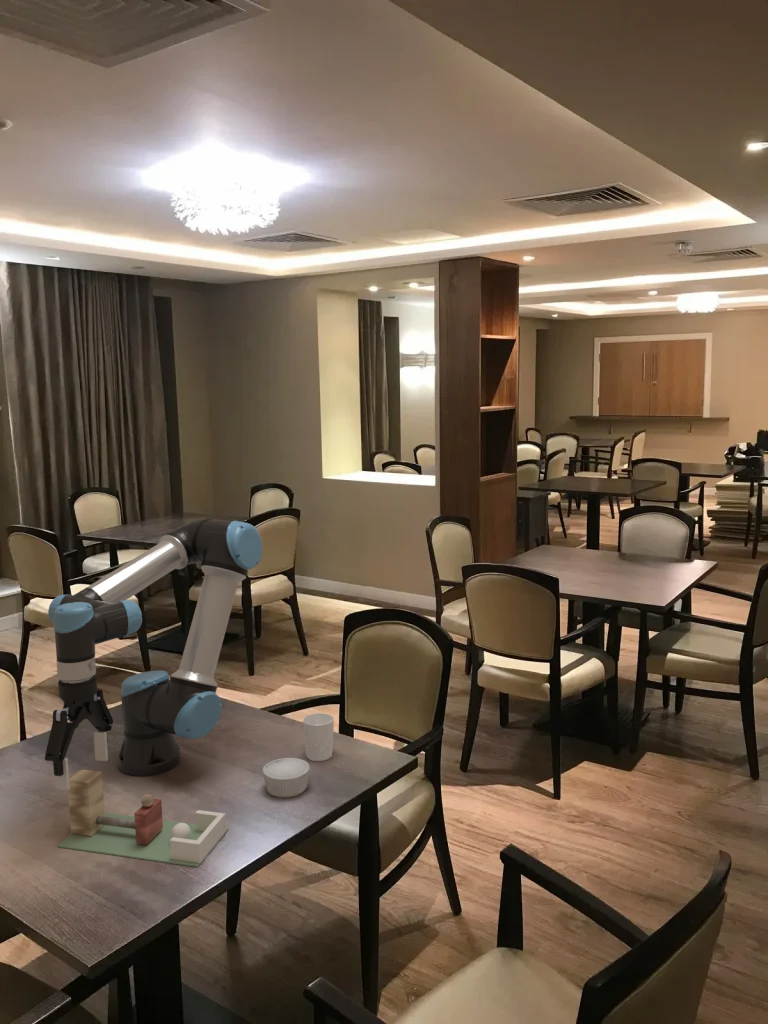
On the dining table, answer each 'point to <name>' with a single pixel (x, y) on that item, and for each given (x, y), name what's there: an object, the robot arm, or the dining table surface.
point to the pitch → (131, 842)
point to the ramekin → (286, 777)
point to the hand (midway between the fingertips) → (82, 774)
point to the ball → (181, 831)
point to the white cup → (318, 736)
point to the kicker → (91, 814)
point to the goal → (201, 847)
